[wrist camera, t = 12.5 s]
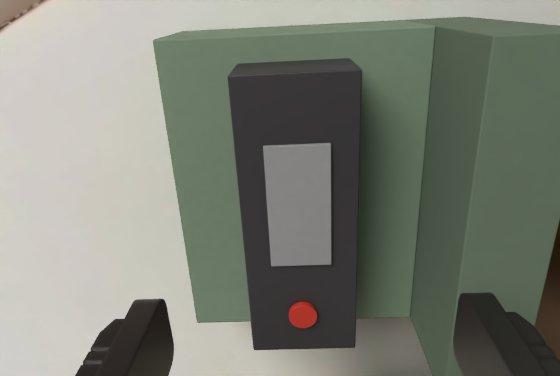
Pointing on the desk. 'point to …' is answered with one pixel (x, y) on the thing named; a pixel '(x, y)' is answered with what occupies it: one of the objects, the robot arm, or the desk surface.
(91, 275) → the desk surface
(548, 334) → the shelf
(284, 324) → the remote
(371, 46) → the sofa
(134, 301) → the robot arm
